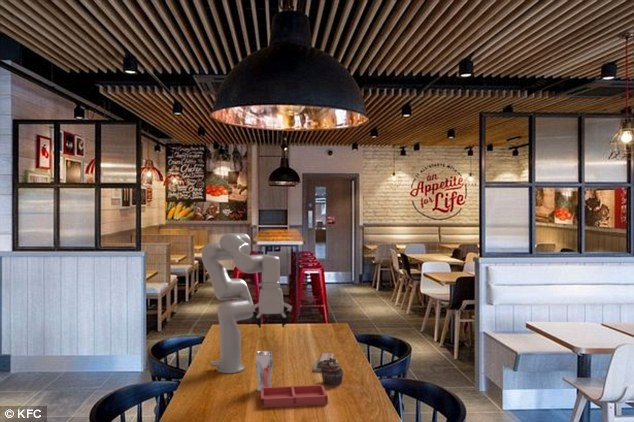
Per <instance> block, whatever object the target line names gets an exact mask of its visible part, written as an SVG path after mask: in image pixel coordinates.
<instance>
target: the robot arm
mask: <svg viewBox="0 0 634 422" xmlns="http://www.w3.org/2000/svg"><path fill="white" fill-rule="evenodd" d="M218 241H219V242H214V243H213V242H212V243H208V244H206V245H205V246H204V247H202V250H201V261H202V264H203V267H204V268H205V270H206V272H207V274H208V276H209V279H210V282H211V285H212V288H213V289H212V290H213V291H214V292H213V293H214V295H215V297H216V299H218V300H219V301H224V302H221V303H220V304H219V305H218V308H217V318H218V324H219V325H218V326H219V359H218V360H210V363H209V365H210V366H211V367H216V371H217V372H218V373H220V374H235V373H239V372H240V373H241V372H242V371H244V370H245V365H244V364H242V362H241V361H242V352H241V351H242V349H241V348H242V341H241V340H242V337H241V335H242V333H241V332H242V331H241V328H240V326H239V325H238V323H237V322H239V321H243V320H244V321H245V320H249V319H251V318H253V316H254V317H255V318H256V325H257V326H258V328H259V329H260V328H261V326H262V324H261V323H262V322H261V321H262V318H261V316H262V315H279V314H280V315H281V316H282V317H281V327H282V328H284V327H285V326H286V325H287V324H286V318H287V316H288V315H289V314H290V313H291V311H292V309H293V306H292V305H290V304H289V303H286V302H284V294H283V293H284V292H283V289H282V288H281V259H280V257H279V256H277V255H270V254H265V253H264V254H262V253H261V254H251V251H252V249H251V246H252V245H251V244H252V240H251V238H250V236H249V235H248V234H247V233H245V232H230V233H225V234H223V235H222V236H221V237H220V239H219V240H218ZM231 260H233V263H234V266H235V267H236V268H237V269H238V270H240V271H241V272H243V273H246V274H255V273H261V282H260V283H258V287H261V288H260V289H259V295H258V302H257V303H256V304H254V302H253V299H252V295H251V292H250V290H249V287H248V285H247V282H246V281H245V280H244V279H243V278H230V276H229V274H228V270H227V269H226V267H224V265H223V264H221V262H220V261H231ZM256 308H258V312H257V311H256ZM285 308H287V310H286V311H284V309H285Z"/></svg>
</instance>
